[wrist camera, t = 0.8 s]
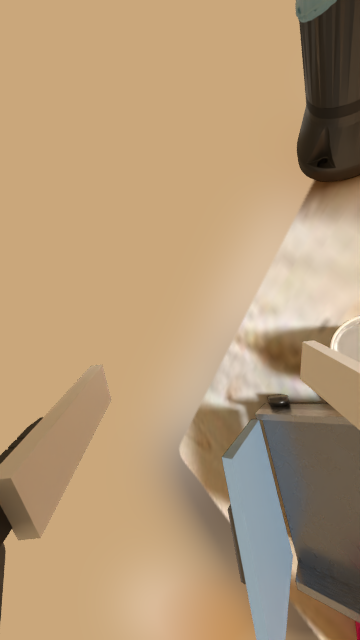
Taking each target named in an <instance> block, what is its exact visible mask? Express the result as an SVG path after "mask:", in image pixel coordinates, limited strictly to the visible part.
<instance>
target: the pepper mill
mask: <svg viewBox="0 0 360 640" xmlns="http://www.w3.org/2000/svg"><path fill="white" fill-rule="evenodd" d="M355 623H356V633H357V640H360V623H359V622H357V621H355Z"/></svg>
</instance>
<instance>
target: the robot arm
mask: <svg viewBox="0 0 360 640" xmlns="http://www.w3.org/2000/svg"><path fill="white" fill-rule="evenodd" d="M296 15H297V17H298V19H299V22H300V34H301V46H302V57H303V69H304V79H305V93H306V109H305V113H304V117H303V121H302V125H301V129H300V133H299V137H298V142H297V155H298V162H299V165H300V168H301V170H302V172H303V173H304V174H305V175H306V176H308V177H310V178H312V179H314V180H318V181H338V180H344V179H348V178H351V177H355V176H357V175H360V0H296ZM300 379H301V380H302V381H303V382H304V383H305V384H306V385H308V386H309V387H310V388H311V389H312V390H313V391H315V392H316V393H317V394H318V395H319V396H320V397H322V398H323V399H324V400H325V401H326V402H327V403H329V404H330V405H331V406H332V407H333V408H334V409H336V410H337V411H338V412H339V413H340V414H341V415H342V416H344V417H345V418H346V419H347V420H348V421H349V422H351V423H352V424H353V425H354V426H355V427H356V428H358V429H359V430H360V362H357V361H355V360H353V359H351V358H349V357H347V356H345V355H343V354H341V353H339V352H337V351H335V350H333V349H331V348H329V347H327V346H325V345H323V344H321V343H319V342H317V341H315V340H312V341H304V342H302V355H301V370H300ZM110 402H111V397H110V393H109V389H108V385H107V381H106V378H105V373H104V370H103V366H102V365H96V366H91V367H90V368H89V369H88V370H87V371H86V372H85V373H84V374H83V375H82V377H80V378H79V380H78V381H77V382H76V383H75V384H74V385H73V386H72V387H71V388H70V389H69V390H68V391H67V393H66V394H65V395H64V396H63V397H62V398H61V399H60V400H59V401H58V402H57V403H56V405H55V406H54V407H53V408H52V409H51V410H50V411H49V412H48V413H47V414H46V415H45V416H44V417H42V418H39V419H38V420H37V421H35V422H34V423H33V424H31V425H30V426H29V427H27V428H26V430H24V432H23V433H22V434H21V435H20V436H19V437H18V438H17V440H15V441H14V442H13V443H12V444H11V445H10V446H9V447H8V450H5V451H4V452H3V453H2V454H1V455H0V619H1V606H2V592H3V578H4V565H5V547H4V544H3V542H4V540H5V538H6V537H7V535H8V534H9V532H10V531H11V529H12V530H13V532H14V533H15V535H16V537H17V539H18V540H25V539H35V538H41V536H42V534H43V532H44V530H45V528H46V526H47V525H48V523H49V520H50V519H51V517H52V515H53V513H54V511H55V509H56V507H57V505H58V503H59V501H60V499H61V497H62V495H63V493H64V491H65V489H66V488H67V486H68V484H69V482H70V480H71V478H72V476H73V474H74V472H75V470H76V468H77V466H78V464H79V462H80V460H81V458H82V456H83V454H84V452H85V450H86V449H87V446H88V445H89V443H90V441H91V439H92V437H93V435H94V433H95V431H96V429H97V427H98V425H99V423H100V421H101V419H102V417H103V415H104V414H105V412H106V410H107V408H108V406H109V404H110Z"/></svg>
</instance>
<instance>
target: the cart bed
mask: <svg viewBox="0 0 360 640" xmlns="http://www.w3.org/2000/svg"><path fill="white" fill-rule="evenodd" d="M268 401H269V404H264V405H263V406H262V407H261V408H260V409H259V410H258V411H257V412H256V413H255V416H256V420H263V424H264V428H265V432H266V436H267V440H268V444H269V448H270V452H271V456H272V460H273V464H274V468H275V472H276V476H277V480H278V484H279V488H280V492H281V496H282V500H283V504H284V508H285V512H286V516H287V520H288V524H289V528H290V532H291V536H292V540H293V544H294V548H295V552H296V556H297V560H298V565H297V573H296V585H297V589H298V590H300V591H301V592H303V593H305V594H307V595H309V596H311V597H313V598H314V599H316V600H318V601H320V602H322V603H324V604H325V605H327V606H329V607H331V608H333V609H335V610H336V611H338V612H340V613H342V614H344V615H346V616H348V617H349V618H351V619H353V620H355V621H357V622H359V623H360V430H359V429H358V428H356V427H355V426H354V425H353V424H352V423H351V422H349V421H348V420H347V419H346V418H345V417H344V416H342V415H341V414H340V413H339V412H338V411H337V410H336V409H334V408H333V407H332V406H331V405H330V404H290V402H289V399H288V396H287V395H272V396H269V397H268Z"/></svg>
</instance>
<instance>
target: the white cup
mask: <svg viewBox="0 0 360 640" xmlns="http://www.w3.org/2000/svg"><path fill="white" fill-rule="evenodd" d="M330 348H331V349H333V350H335V351H337V352H339V353H341V354H343V355H345V356H347V357H349V358H351V359H353V360H355V361H357V362H360V315H359V316H356V317H354V318H352V319H350V320H348V321H347V322H345V323H344V324H342V325H341V326H340V327H339V328H338V329H337V330H336V332H335V333H334V335H333V337H332V339H331V343H330Z"/></svg>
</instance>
